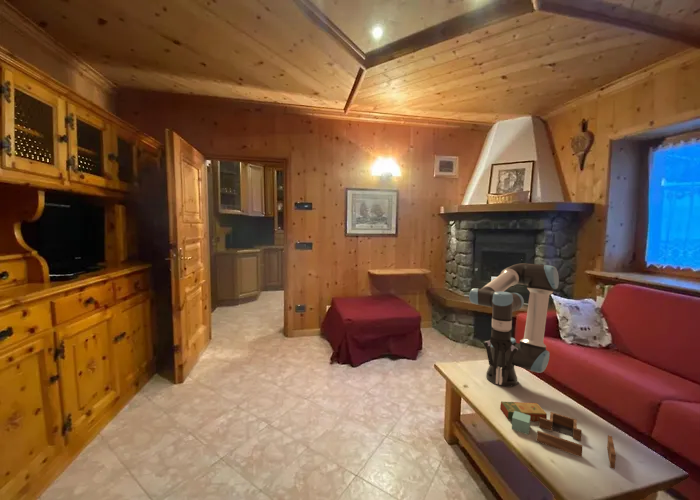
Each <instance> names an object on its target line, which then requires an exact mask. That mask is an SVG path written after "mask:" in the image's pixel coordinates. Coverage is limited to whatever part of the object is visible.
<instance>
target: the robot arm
mask: <svg viewBox="0 0 700 500" xmlns="http://www.w3.org/2000/svg"><path fill="white" fill-rule="evenodd" d="M559 278H560V277H559V273H558V269H557V267H555V266H553V265H549V264H540V263H539V264H537V263H525V262H524V263H521V262H520V263H516V264H513V265H511V266H508V267H506V268H504V269H502V270H501V272H500V274H499V275H498V276H497V277H495V278H494V279H492V280H491V281H489V282H488V283H486V284H485V285H484V286H482V287H481V288H478V287H477V288H476V287H475V288H471V289H470V291H469V296H468V298H469V299H468V300H469V301H470V303H471V304H474V305H477V306H483V307H487V308H488V307H489V308H492V309H491V310H492V316H491V331H490V332H491V334H490V339H489V340H485V341H484V343H483V345H484V347H485V349H486V355H487V360H488V365H489V366H488V368H487V371H486V374H485V377H486V380H488V381H489V382H491V383H493V384H495V385H498V386H502V387H515V386H516V385H518V376H517V372H516V369H515V367H518V368H522V369H525V370H527V371H530V372H534V373H539V374H541V373H544V372H545V370H546V368H547V366H548V364H549V361H550V351H548V350H547V345H546V344H545V343H544V339H545V338H544V337H545V331H546V324H547V317H548V314H547V313H548V307H549V300H550V295H552V294H553V293H554V290H557V289H558V288H559V285H560V279H559ZM515 285H521V286H522V285H524V286H527V287H526V289H527V290H528V291H529V297H528V303H527V304H528V305H527V311H526V312H527V313H526V320H525V327H524V334H523V338H522V339H520V340H519V342H517V340H516V339H515V338H514V337H512V328H513V327H512V326H513V325H512V324H513V313H514V312H517V311H519V310H520V309H521V308H523V306H524V304H525V300H524V298H523V296H522V294H520V293H518V292H509V291H506V290H509V288H510V287H513V286H515Z"/></svg>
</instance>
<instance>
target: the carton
mask: <svg viewBox="0 0 700 500" xmlns="http://www.w3.org/2000/svg"><path fill="white" fill-rule="evenodd" d="M499 409H500V411H501V412H502V413H503V415H504V417H505V418H506V420H508V421H512V417H513V414H514V411H517V412H520V413H523V414H527V415H530V416H531V418H530V422H538V423H539V418H540V417H542V418H545V419H547V418H548V417H547V415H548V414H547V412H546V411H545V410H544V409H543V408H542V407H541V406H540V405H539V404H538V403H537V402H517V401H501V402H500V407H499Z"/></svg>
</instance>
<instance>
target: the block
mask: <svg viewBox="0 0 700 500" xmlns="http://www.w3.org/2000/svg"><path fill="white" fill-rule="evenodd" d="M530 418H531V416H530V415H527V414H523V413H520V412H517V411H514V414H513V417H512V420H511V429H512V430H514V431H516V432H518V433H522V434H526V435H529V434H530V428H531V421H530Z"/></svg>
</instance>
